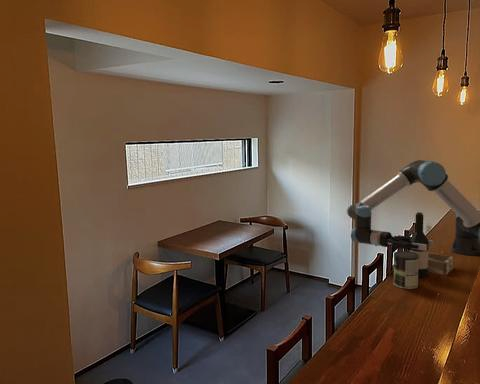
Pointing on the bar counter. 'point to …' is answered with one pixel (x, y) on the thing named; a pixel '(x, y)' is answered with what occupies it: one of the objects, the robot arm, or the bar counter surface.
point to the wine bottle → (420, 239)
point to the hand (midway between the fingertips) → (429, 245)
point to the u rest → (440, 263)
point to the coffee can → (406, 269)
